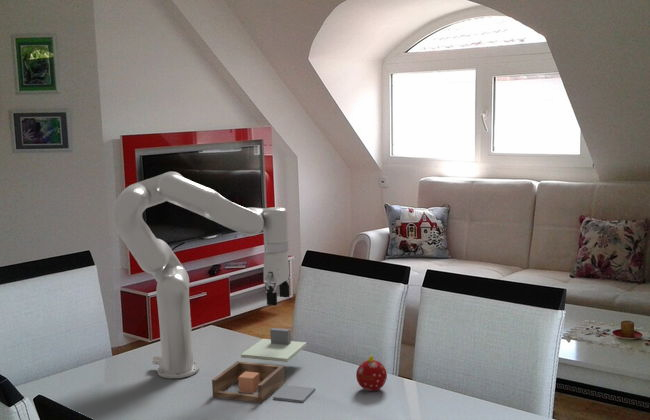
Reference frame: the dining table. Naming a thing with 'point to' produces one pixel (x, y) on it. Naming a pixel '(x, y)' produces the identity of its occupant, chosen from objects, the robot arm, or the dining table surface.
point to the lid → (275, 347)
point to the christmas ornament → (371, 375)
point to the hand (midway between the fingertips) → (278, 300)
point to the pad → (294, 393)
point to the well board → (268, 373)
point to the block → (249, 382)
